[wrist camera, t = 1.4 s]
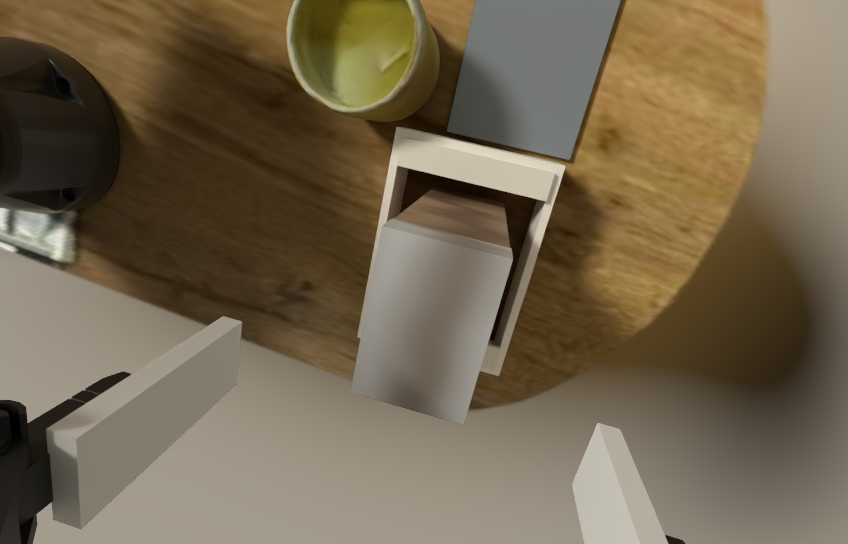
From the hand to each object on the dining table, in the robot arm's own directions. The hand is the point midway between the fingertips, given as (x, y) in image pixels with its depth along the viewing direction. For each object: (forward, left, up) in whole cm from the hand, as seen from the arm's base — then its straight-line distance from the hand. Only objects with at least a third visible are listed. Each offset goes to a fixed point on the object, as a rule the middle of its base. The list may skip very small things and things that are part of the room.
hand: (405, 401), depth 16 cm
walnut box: (0, 0, -24) cm, 24 cm away
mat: (+2, +15, -24) cm, 28 cm away
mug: (-10, +15, -24) cm, 30 cm away
